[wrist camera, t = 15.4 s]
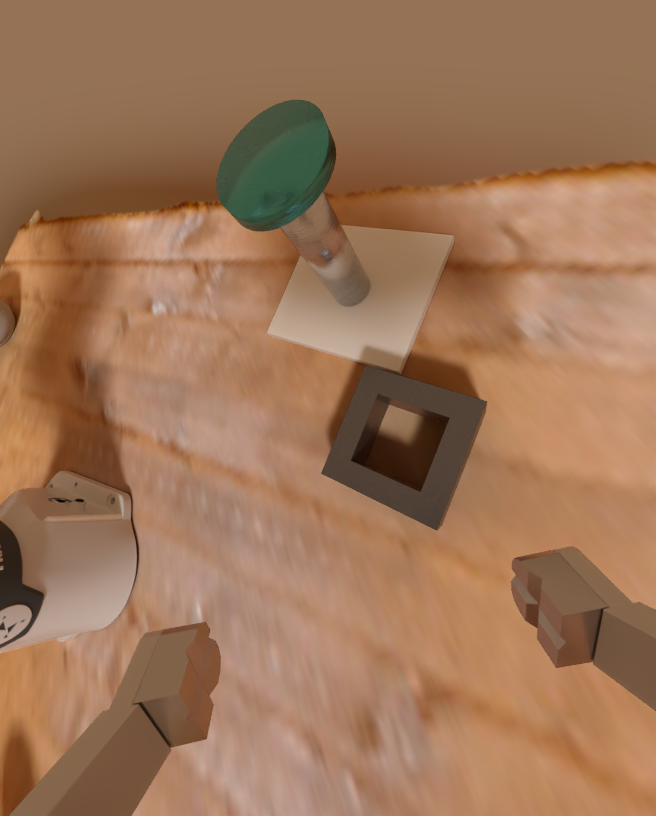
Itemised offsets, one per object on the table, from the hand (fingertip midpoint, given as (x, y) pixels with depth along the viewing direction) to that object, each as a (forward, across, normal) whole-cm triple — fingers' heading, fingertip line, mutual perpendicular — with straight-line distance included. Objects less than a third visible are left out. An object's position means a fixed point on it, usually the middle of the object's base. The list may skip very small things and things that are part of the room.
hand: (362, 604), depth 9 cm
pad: (+31, -5, -5) cm, 32 cm away
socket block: (+20, -6, +8) cm, 22 cm away
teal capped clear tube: (+30, -5, -6) cm, 31 cm away
